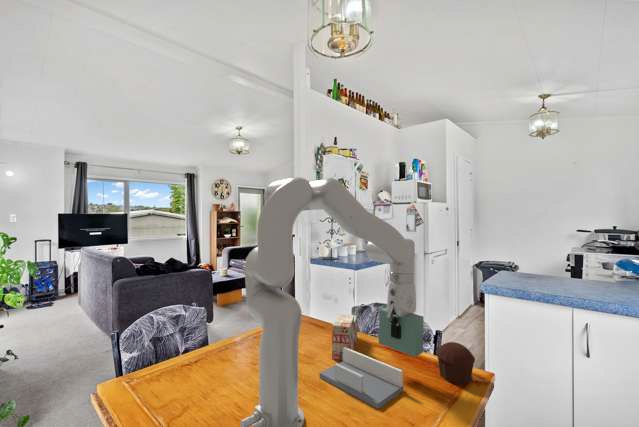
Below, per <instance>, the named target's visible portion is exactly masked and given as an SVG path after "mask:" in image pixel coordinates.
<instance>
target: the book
mask: <svg viewBox="0 0 639 427" xmlns="http://www.w3.org/2000/svg"><path fill="white" fill-rule="evenodd" d="M387 313H388V311H387V306H386V307H383V308H380V309H379V315H378V316H379V318H378V344H379V345H381V346H384V347H387V348H389V349H393V350H396V351H397V352H401V353H404V354H406V355H409V356H412V357H414V358H416V357H418V356H420V355H422V354H423V353H424V317H425V316H423V315H419V314H416V313H412V314H409V315H407V316H404V317H401V320H400V326H401V339H396V338H393V337H391V324H390V321H389V319H388V318H387V317H386V316H387ZM394 314H396V313H394ZM394 318H395V319H396V320H397V317H394Z"/></svg>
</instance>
